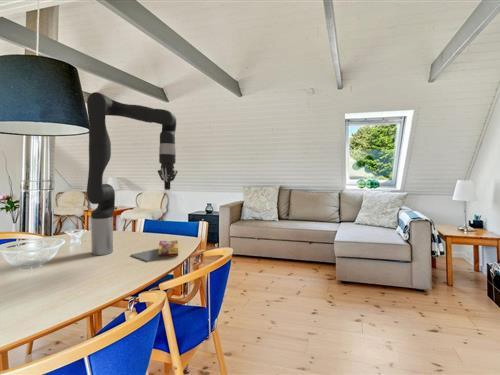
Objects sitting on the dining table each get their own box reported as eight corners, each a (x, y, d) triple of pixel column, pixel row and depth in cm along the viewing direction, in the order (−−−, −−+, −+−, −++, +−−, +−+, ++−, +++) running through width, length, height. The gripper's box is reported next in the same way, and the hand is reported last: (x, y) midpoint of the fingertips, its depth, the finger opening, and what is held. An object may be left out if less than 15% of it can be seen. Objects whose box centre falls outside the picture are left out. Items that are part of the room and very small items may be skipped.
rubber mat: (130, 255, 134) (130, 254, 134) (160, 249, 146) (160, 247, 146) (147, 262, 125) (147, 260, 125) (177, 254, 138) (177, 252, 137)
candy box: (178, 256, 132) (177, 247, 147) (178, 247, 132) (177, 239, 147) (158, 258, 130) (159, 248, 145) (158, 248, 130) (159, 240, 144)
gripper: (152, 153, 138) (152, 189, 139) (169, 152, 129) (169, 190, 130) (165, 154, 144) (165, 188, 144) (182, 153, 135) (182, 190, 136)
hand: (167, 189), depth 137 cm, fingers closed
